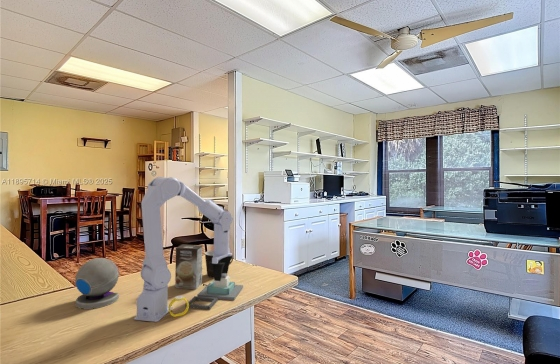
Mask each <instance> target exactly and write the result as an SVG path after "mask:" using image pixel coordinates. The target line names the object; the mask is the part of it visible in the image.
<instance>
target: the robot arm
mask: <svg viewBox="0 0 560 364" xmlns="http://www.w3.org/2000/svg"><path fill="white" fill-rule="evenodd" d="M176 196H178V197H181V198H183V199H184V200H186V201H188V202H190V203H191V204H192V205H194V206H196V207H197V209H198V212H199V213H200V214H202V215H203V216H205V217H206V218H208V219H209V220H210V221H211V222H212V224H213V233H214V234H213V251H214V253H213V258H212V261H210V262H209V265H210V267H211V269H212V272H213V276H214V278H213V281H214V280H215V281H220V280H221V276H222V273H227V274H228V273H229V267H230V265H231V264H230V262H231V261H232V257H233V253H232V252H231V251H230V249H231V248H230V230H231V225H232V223H233V221H234V218H233V217H232V216H233V215H232V213H231V212H230V211H228V210H224V207H223V206H220V205H218V204H217V203H215V200H214V199H211V198H206V199H204V198H202V197H201V196H200V195H199V194H197V193H196V192H195V191H194V190H192V189H191V188H190V187H189V186H188V185H186V184H185V183H184V182H183V181H180V180H179V179H178V178H176V177H172V176H169V177H163V176H157V177H155V178H154V179H152V180H150V182H149V183H148V184H147V189H146V192H145V194H144V196H143V197H142V200H141V203H140V205H141V215H142V216H141V217H142V226H143V227H142V228H143V229H142V230H143V240H144V241H143V242H144V253H145V254H144V255H145V257H144V259H143V260H142V268H141V269H140V277H141V279H142V280H143V281H144V282H143V284H142V287H143V288H142V291H141V293H140V294H139V295H138V297H137V298H136V316H135V317H134V318H133V320H136V321H142V322H143V321H144V322H145V321H147V322H154V323H155V322H156V323H157V322H160V321H161V319H163V318H164V317H165V316H166V315H167V314H169V313H170V312H169V305H168V286H169V285H168V284H169V283H170V282H171V278H172V273H171V270H170V269H169V268H168V263H167V260H166V258H165V255H164V246H163V245H164V244H163V243H164V242H163V230H162V218H161V207H162V206H163V205H164V204H165V203H166V202H168V201H169V200H171V199H173V198H174V197H176ZM229 264H230V265H229ZM173 308H174V307H173V306H171V310H173Z"/></svg>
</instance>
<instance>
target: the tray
mask: <svg viewBox="0 0 560 364" xmlns="http://www.w3.org/2000/svg"><path fill="white" fill-rule="evenodd" d="M218 300H219V299H218V298H212V297H199V296H197V295H196V296H195V295H194V296H193V297H192V298H191V299H190V300H189V301H188V303H189V308H188V309H199V310H200V309H201V310H211V309H212V308H213V307H214V306H215V305H216V303H217V302H218ZM195 301H205V302H210V303H209V304H197V303H195V304H194V302H195ZM186 307H187V303H186V304H185V308H186Z"/></svg>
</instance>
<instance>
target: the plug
mask: <svg viewBox="0 0 560 364" xmlns="http://www.w3.org/2000/svg"><path fill="white" fill-rule="evenodd" d="M213 281H214V287H223V288H228V287H229V286H230V282H231V281H230V275H228V273H222V276H221V280H220V281H215V280H214V279H213Z"/></svg>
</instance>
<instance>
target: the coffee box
mask: <svg viewBox="0 0 560 364" xmlns="http://www.w3.org/2000/svg"><path fill="white" fill-rule="evenodd" d="M174 271H175V274H174V276H175V278H174V279H175V280H174V281H175V282H174V288H175V289H184V290H185V289H188V290H197V289H198V288H199V287H200V286H201V285H202V283H203V245H198V244H186V243H185V244H183V243H182V244H180V245H178V246H177V247H176V248H175V269H174Z"/></svg>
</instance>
